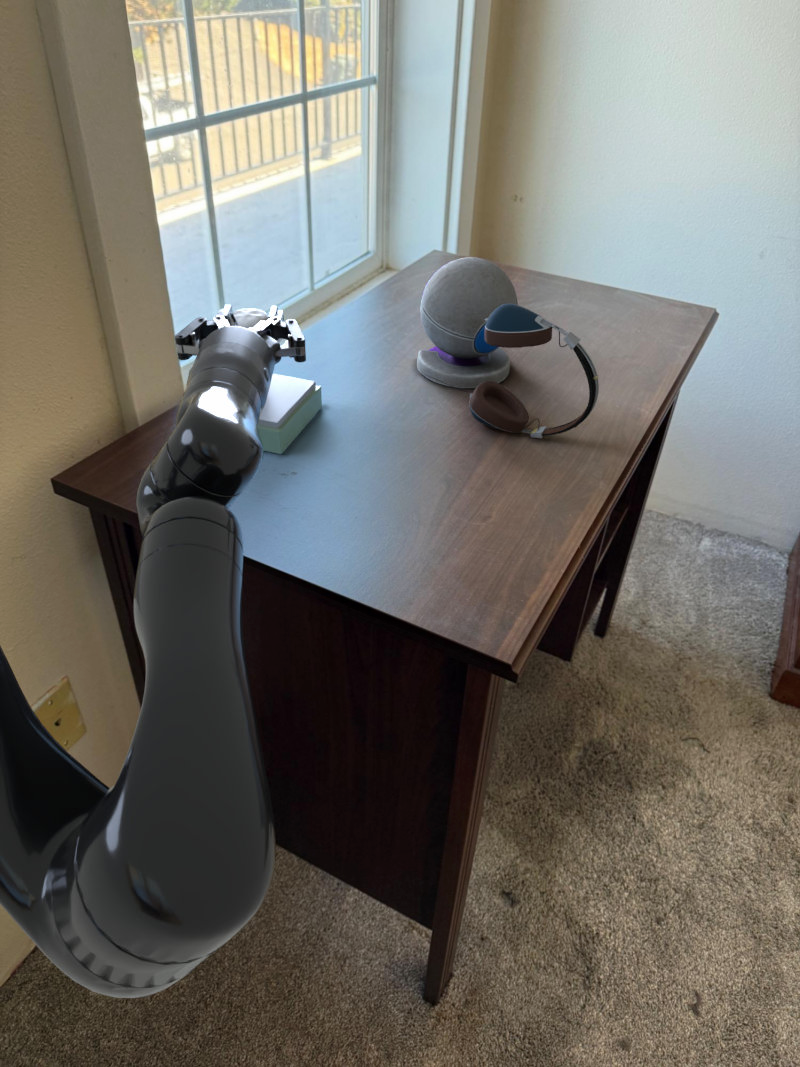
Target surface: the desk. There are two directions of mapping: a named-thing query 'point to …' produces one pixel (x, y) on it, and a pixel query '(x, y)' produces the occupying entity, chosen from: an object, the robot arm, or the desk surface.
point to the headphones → (499, 403)
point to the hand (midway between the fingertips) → (252, 313)
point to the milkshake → (247, 318)
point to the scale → (287, 411)
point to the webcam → (464, 323)
